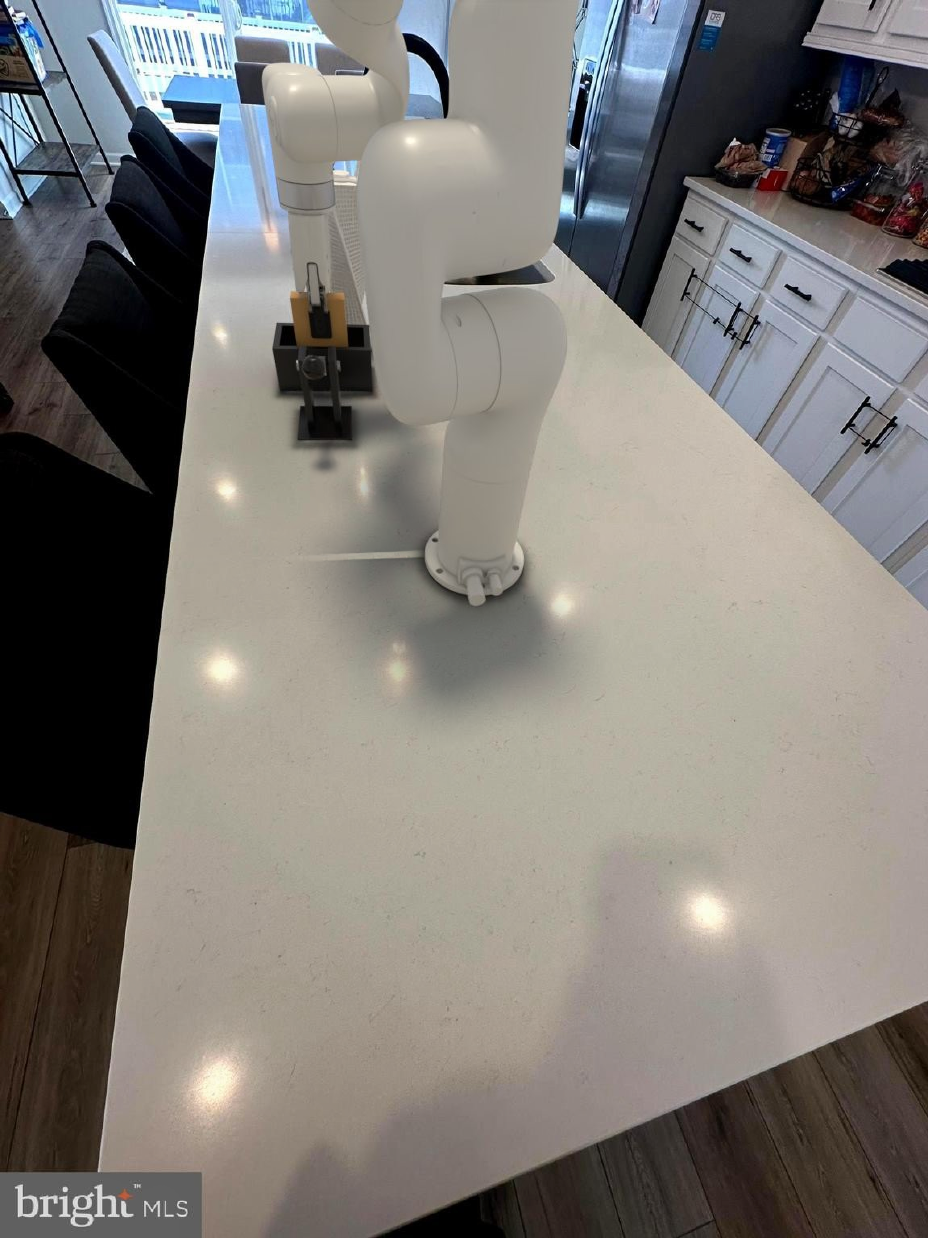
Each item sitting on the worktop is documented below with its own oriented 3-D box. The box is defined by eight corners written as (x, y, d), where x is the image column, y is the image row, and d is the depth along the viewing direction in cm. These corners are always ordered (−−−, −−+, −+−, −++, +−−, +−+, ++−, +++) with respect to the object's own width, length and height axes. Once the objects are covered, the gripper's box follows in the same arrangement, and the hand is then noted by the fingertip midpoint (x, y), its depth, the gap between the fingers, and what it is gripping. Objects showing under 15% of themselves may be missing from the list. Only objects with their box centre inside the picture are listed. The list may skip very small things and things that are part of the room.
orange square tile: (348, 352, 91) (344, 299, 85) (297, 351, 90) (289, 297, 84) (348, 344, 93) (344, 292, 86) (298, 343, 91) (290, 290, 85)
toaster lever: (326, 381, 72) (323, 355, 70) (302, 380, 71) (299, 354, 70) (330, 376, 81) (329, 353, 80) (309, 376, 81) (307, 353, 80)
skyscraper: (349, 334, 107) (335, 148, 86) (382, 348, 105) (376, 160, 83) (318, 349, 103) (295, 156, 81) (352, 364, 100) (338, 169, 78)
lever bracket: (352, 445, 85) (346, 369, 76) (298, 445, 84) (285, 368, 75) (352, 412, 90) (346, 338, 81) (301, 412, 89) (289, 337, 80)
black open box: (373, 396, 94) (370, 350, 88) (280, 395, 92) (272, 348, 86) (371, 369, 100) (369, 324, 94) (284, 368, 97) (276, 322, 91)
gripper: (281, 173, 80) (300, 310, 94) (273, 211, 70) (295, 357, 84) (335, 177, 81) (345, 311, 95) (334, 214, 71) (346, 358, 85)
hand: (322, 331), depth 89 cm, fingers closed on orange square tile, 2 cm apart
